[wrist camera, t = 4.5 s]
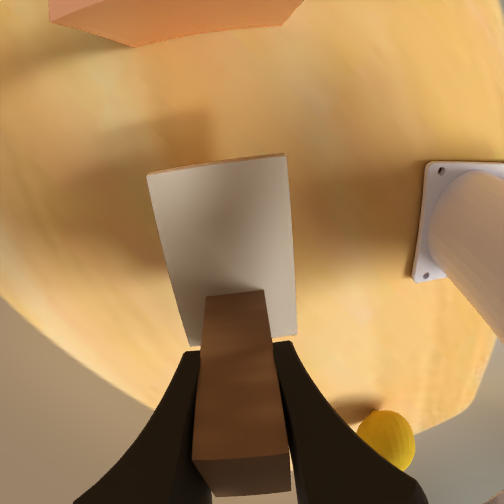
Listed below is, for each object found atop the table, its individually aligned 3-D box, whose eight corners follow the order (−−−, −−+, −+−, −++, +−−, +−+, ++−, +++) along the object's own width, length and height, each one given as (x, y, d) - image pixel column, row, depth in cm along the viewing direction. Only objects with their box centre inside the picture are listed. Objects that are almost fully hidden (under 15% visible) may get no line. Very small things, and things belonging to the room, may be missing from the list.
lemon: (336, 419, 27) (354, 490, 20) (379, 388, 26) (408, 462, 19) (368, 428, 29) (387, 490, 22) (408, 400, 27) (434, 463, 20)
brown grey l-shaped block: (283, 153, 11) (369, 249, 4) (295, 330, 15) (331, 483, 8) (150, 172, 11) (38, 288, 4) (192, 342, 15) (176, 496, 8)
